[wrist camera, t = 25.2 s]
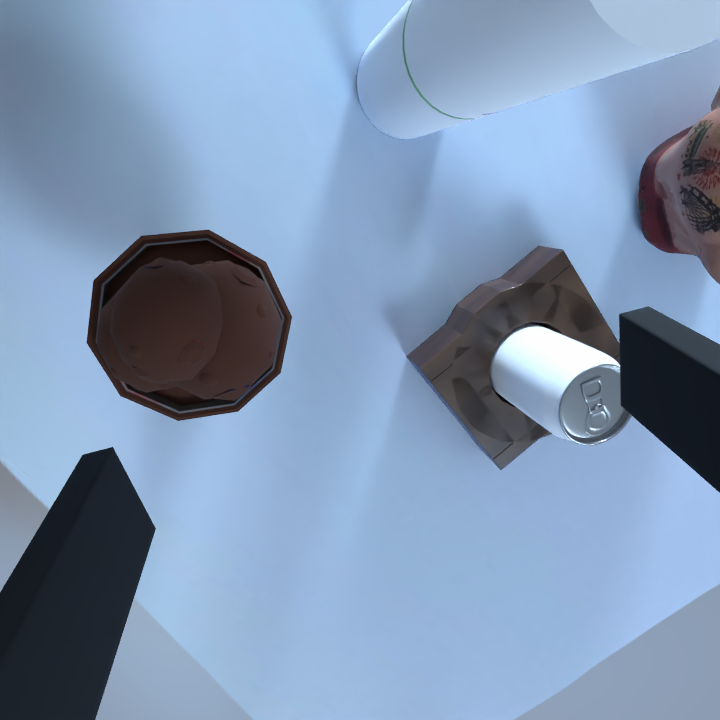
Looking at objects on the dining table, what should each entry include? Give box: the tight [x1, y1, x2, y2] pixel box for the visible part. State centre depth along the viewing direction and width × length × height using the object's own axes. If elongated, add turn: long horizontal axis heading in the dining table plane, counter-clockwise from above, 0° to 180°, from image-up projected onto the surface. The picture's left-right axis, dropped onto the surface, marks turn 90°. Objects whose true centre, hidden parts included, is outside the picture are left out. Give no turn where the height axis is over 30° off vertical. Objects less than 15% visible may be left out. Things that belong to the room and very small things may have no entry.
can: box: [488, 322, 632, 445], centre depth 40 cm, size 6×6×12 cm
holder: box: [407, 246, 620, 470], centre depth 44 cm, size 13×14×4 cm
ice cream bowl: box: [87, 230, 292, 421], centre depth 32 cm, size 11×11×15 cm
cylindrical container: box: [357, 0, 720, 139], centre depth 26 cm, size 7×7×25 cm
